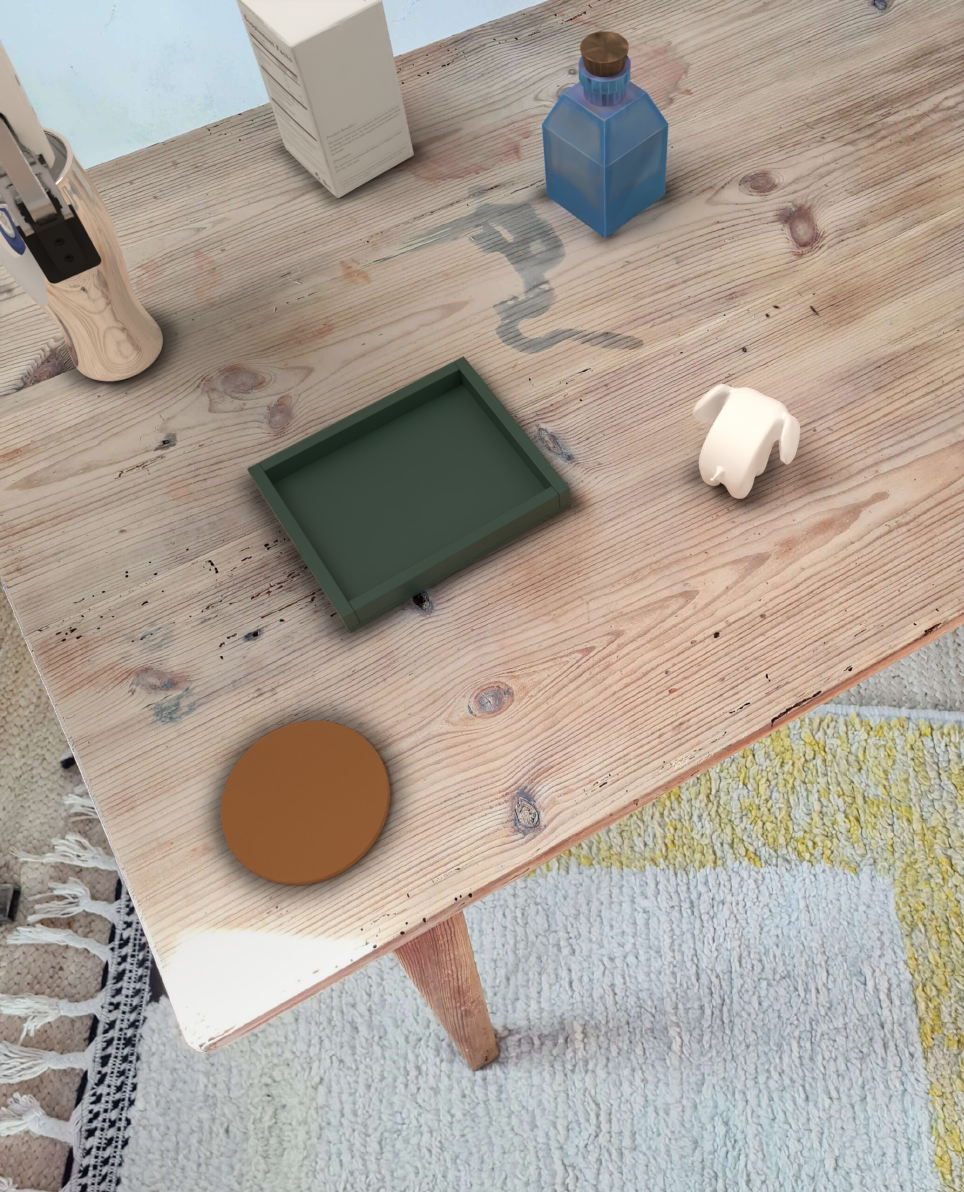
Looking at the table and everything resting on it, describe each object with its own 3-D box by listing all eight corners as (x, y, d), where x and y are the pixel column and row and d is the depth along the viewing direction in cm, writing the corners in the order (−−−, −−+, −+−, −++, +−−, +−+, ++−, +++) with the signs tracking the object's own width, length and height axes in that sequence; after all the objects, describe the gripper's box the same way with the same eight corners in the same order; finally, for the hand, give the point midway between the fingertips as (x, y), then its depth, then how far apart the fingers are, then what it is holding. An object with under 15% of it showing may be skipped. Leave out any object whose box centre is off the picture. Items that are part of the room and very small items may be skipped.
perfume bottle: (664, 195, 80) (672, 46, 69) (605, 238, 78) (603, 91, 67) (606, 154, 82) (605, 4, 71) (546, 195, 80) (536, 47, 69)
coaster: (268, 919, 55) (265, 917, 55) (196, 781, 59) (192, 777, 58) (420, 823, 58) (418, 819, 57) (342, 695, 61) (339, 691, 61)
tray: (349, 633, 63) (342, 618, 61) (256, 486, 68) (246, 468, 66) (571, 506, 67) (570, 488, 65) (467, 375, 72) (463, 355, 70)
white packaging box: (362, 108, 85) (324, -53, 74) (416, 157, 82) (385, -2, 71) (282, 150, 83) (230, -9, 71) (335, 202, 80) (290, 45, 69)
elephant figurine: (814, 448, 69) (830, 388, 64) (754, 539, 66) (766, 484, 60) (721, 403, 71) (730, 342, 65) (659, 490, 67) (663, 433, 62)
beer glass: (116, 295, 76) (13, 107, 62) (191, 334, 74) (102, 148, 61) (44, 361, 73) (-80, 178, 60) (120, 402, 71) (11, 224, 58)
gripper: (-257, -133, 51) (-56, 174, 67) (-154, 57, 44) (43, 351, 60) (-99, -181, 53) (59, 129, 69) (23, -5, 46) (169, 295, 62)
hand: (51, 230), depth 64 cm, fingers closed on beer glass, 7 cm apart
